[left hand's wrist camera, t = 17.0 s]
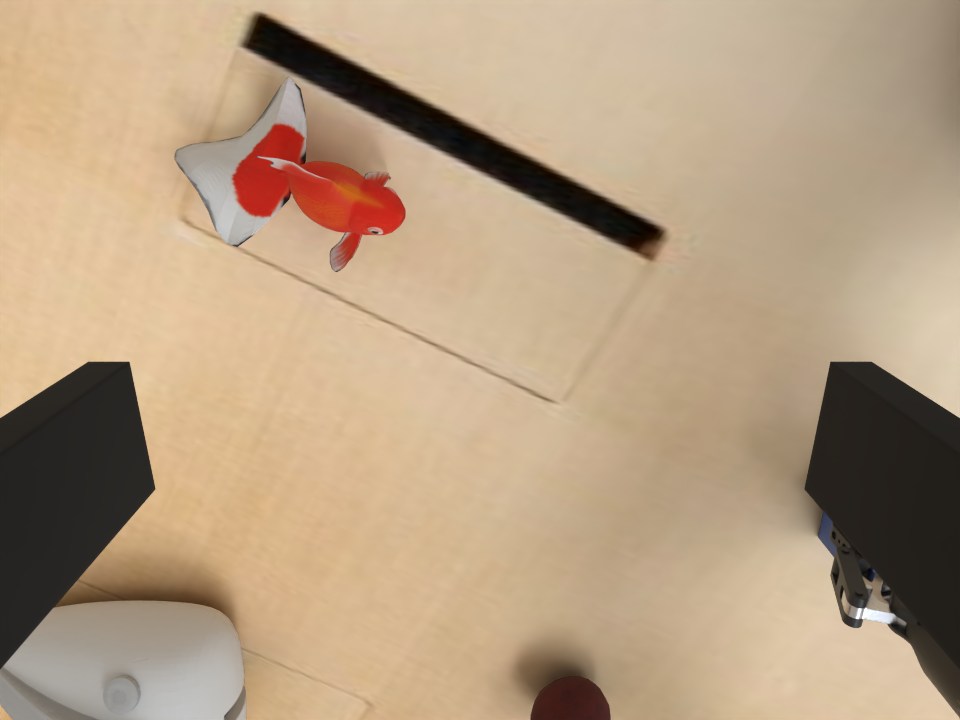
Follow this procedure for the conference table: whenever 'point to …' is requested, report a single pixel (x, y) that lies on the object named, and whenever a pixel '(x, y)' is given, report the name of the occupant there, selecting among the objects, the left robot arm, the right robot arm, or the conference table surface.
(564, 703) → the dark maroon ball
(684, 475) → the conference table surface
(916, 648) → the right robot arm
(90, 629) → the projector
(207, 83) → the conference table surface
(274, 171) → the fish
